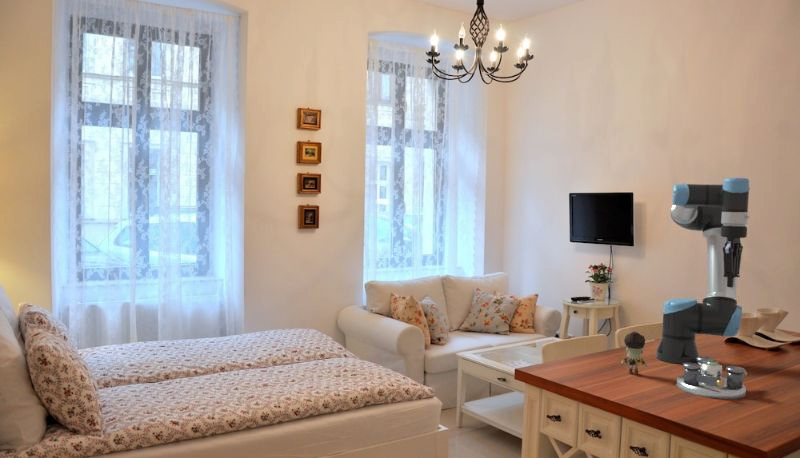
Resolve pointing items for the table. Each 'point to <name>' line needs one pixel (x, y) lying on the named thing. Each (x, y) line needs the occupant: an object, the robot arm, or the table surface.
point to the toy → (634, 350)
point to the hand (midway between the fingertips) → (730, 296)
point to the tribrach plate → (709, 390)
